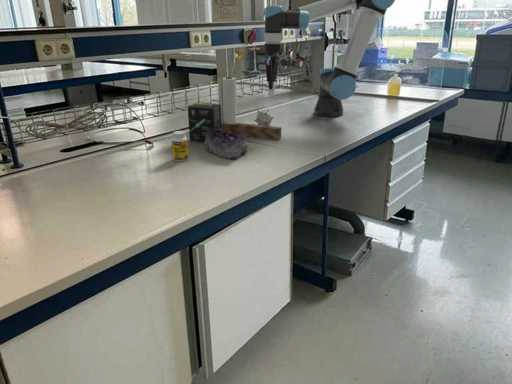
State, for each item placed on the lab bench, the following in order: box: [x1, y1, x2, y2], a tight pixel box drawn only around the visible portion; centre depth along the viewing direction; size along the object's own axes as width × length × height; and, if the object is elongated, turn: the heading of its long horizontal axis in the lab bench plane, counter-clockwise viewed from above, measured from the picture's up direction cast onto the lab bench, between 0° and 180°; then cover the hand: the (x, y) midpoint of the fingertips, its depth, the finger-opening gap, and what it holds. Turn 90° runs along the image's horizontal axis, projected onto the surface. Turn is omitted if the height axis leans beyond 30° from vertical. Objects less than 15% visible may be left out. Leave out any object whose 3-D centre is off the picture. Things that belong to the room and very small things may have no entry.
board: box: [222, 122, 282, 142], centre depth 179 cm, size 26×3×5 cm, turn 69°
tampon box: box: [187, 102, 222, 144], centre depth 173 cm, size 11×9×15 cm
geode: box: [204, 126, 248, 160], centre depth 159 cm, size 20×12×10 cm, turn 48°
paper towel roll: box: [217, 76, 237, 123], centre depth 196 cm, size 7×6×21 cm
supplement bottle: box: [171, 130, 189, 163], centre depth 151 cm, size 6×6×10 cm
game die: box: [253, 109, 275, 126], centre depth 192 cm, size 9×8×10 cm
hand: (271, 95), depth 198 cm, fingers closed
